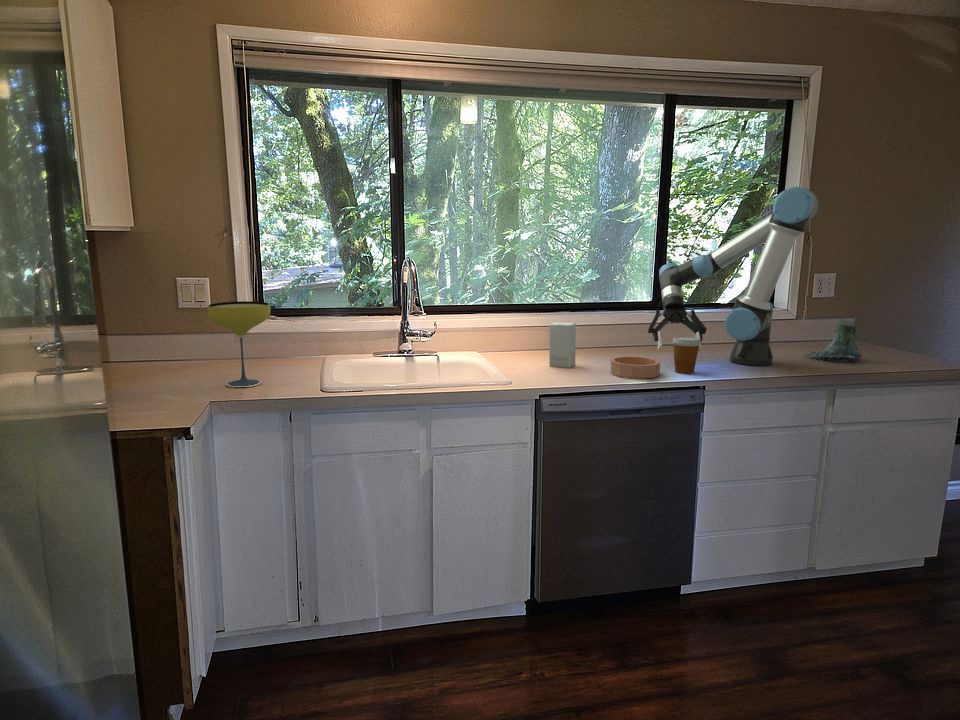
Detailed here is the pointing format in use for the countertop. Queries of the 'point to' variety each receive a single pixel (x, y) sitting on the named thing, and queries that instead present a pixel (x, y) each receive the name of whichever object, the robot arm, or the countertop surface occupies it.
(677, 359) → the disposable coffee cup
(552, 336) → the skincare box
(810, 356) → the tree stump
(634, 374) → the terracotta dish
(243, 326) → the cocktail glass
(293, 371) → the countertop surface
